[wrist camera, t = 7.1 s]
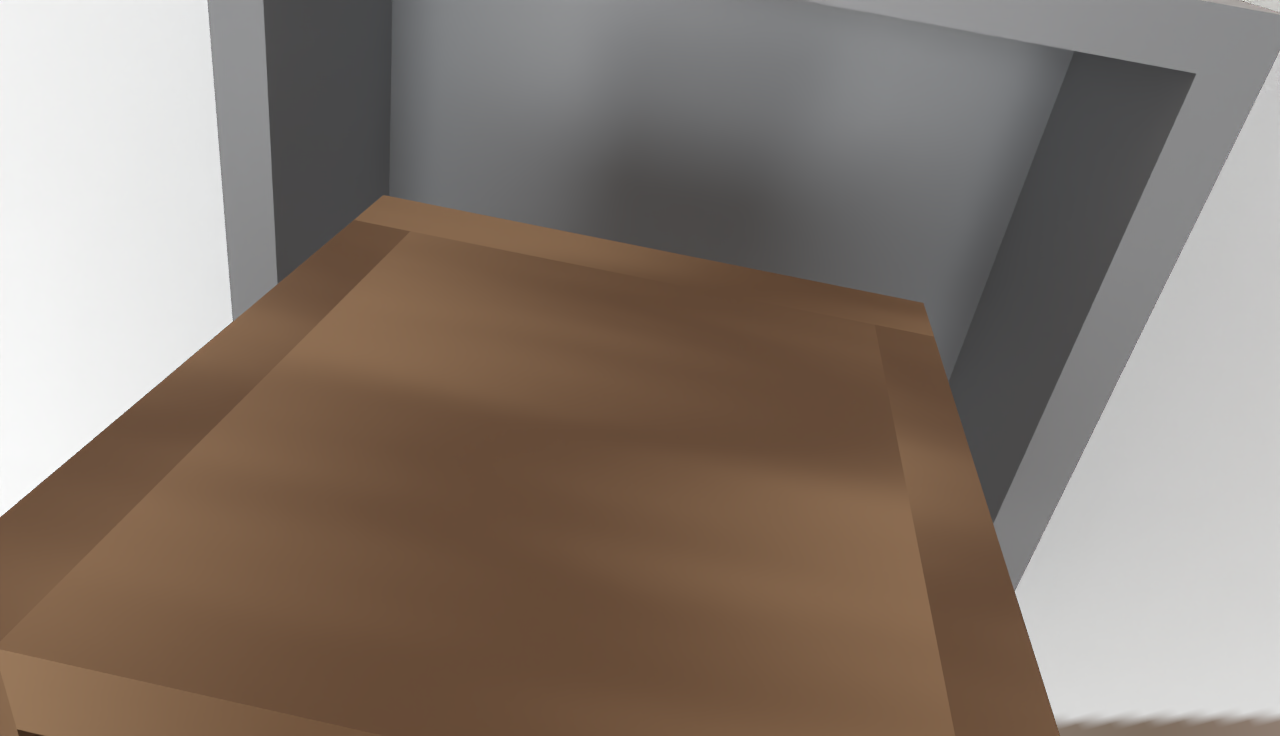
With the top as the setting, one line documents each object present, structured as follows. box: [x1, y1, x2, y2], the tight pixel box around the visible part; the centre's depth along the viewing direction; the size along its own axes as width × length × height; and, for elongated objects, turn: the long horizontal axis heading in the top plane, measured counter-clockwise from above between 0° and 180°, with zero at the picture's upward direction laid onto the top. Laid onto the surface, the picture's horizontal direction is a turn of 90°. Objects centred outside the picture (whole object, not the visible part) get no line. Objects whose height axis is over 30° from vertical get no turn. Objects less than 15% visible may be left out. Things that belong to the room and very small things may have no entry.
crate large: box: [208, 0, 1280, 592], centre depth 17 cm, size 14×16×6 cm
